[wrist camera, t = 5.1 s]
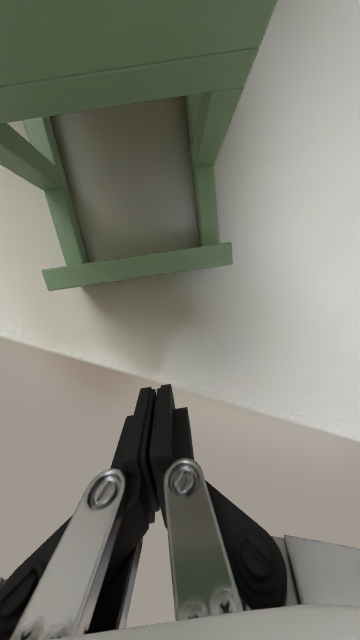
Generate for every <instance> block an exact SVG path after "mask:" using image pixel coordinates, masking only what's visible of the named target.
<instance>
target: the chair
mask: <svg viewBox="0 0 360 640" xmlns="http://www.w3.org/2000/svg"><path fill="white" fill-rule="evenodd" d="M276 3H277V0H0V164H1V165H2V166H4V167H6V168H7V169H9V170H11V171H12V172H14V173H15V174H17V175H19V176H20V177H22V178H24V179H25V180H27V181H29V182H30V183H32V184H34V185H35V186H37V187H39V188H40V189H42V190H44V192H45V195H46V198H47V202H48V205H49V208H50V212H51V215H52V218H53V222H54V225H55V228H56V232H57V235H58V238H59V242H60V245H61V248H62V252H63V255H64V258H65V262H66V265H67V266H64V267H58V268H51V269H44V270H42V273H43V276H44V279H45V282H46V285H47V288H48V290H49V291H52V290H59V289H66V288H73V287H80V286H87V285H93V284H100V283H107V282H114V281H121V280H128V279H134V278H141V277H148V276H155V275H162V274H169V273H175V272H182V271H189V270H196V269H203V268H209V267H216V266H223V265H230V264H232V263H233V261H232V244H231V242H228V243H221V244H219V231H218V218H217V205H216V191H215V178H214V163H215V160H216V158H217V155H218V153H219V150H220V148H221V145H222V142H223V140H224V137H225V135H226V132H227V130H228V127H229V124H230V122H231V119H232V117H233V114H234V112H235V109H236V106H237V104H238V101H239V99H240V96H241V93H242V91H243V88H244V85H245V83H246V80H247V78H248V75H249V73H250V70H251V67H252V65H253V62H254V60H255V57H256V55H257V52H258V49H259V46H260V44H261V42H262V39H263V36H264V34H265V31H266V29H267V26H268V23H269V21H270V18H271V16H272V13H273V11H274V8H275V5H276ZM179 96H186V106H187V116H188V125H189V135H190V145H191V155H192V165H193V175H194V185H195V194H196V204H197V214H198V224H199V234H200V244H201V246H200V247H194V248H187V249H180V250H173V251H166V252H160V253H153V254H146V255H139V256H132V257H126V258H119V259H112V260H105V261H98V262H92V263H88V259H87V255H86V252H85V248H84V244H83V240H82V237H81V233H80V229H79V225H78V222H77V218H76V214H75V211H74V207H73V203H72V199H71V196H70V192H69V188H68V184H67V181H66V177H65V173H64V170H63V166H62V162H61V158H60V155H59V151H58V147H57V143H56V140H55V136H54V132H53V128H52V125H51V121H50V117H49V116H53V115H60V114H67V113H73V112H80V111H86V110H93V109H100V108H106V107H113V106H119V105H126V104H133V103H139V102H146V101H152V100H159V99H166V98H172V97H179ZM20 120H23V122H24V125H25V129H26V132H27V135H28V139H29V142H30V143H29V142H28V141H27V140H26V139H24V138H23V137H22V136H21V135H20V134H19V133H18V132H16V131H15V130H14V129H13V128H12V127H11V126H10V125H8V124H7V122H14V121H20Z"/></svg>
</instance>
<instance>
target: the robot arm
mask: <svg viewBox="0 0 360 640" xmlns="http://www.w3.org/2000/svg"><path fill="white" fill-rule="evenodd" d="M160 508H161V512H162V516H163V520H164V524H165V527H166V528H167V530H168V540H169V551H170V563H171V573H172V584H173V595H174V607H175V618H176V621H172V622H166V623H159V624H152V625H145V626H138V627H132V628H125V626H126V621H127V617H128V612H129V607H130V602H131V597H132V593H133V588H134V583H135V578H136V573H137V568H138V564H139V558H140V554H141V549H142V541H143V536H144V535H145V533H146V532H147V530H148V528H149V523H154V521H155V512H156V511H159V509H160ZM0 640H360V549H357V548H354V547H349V546H344V545H338V544H332V543H327V542H321V541H315V540H310V539H305V538H299V537H293V536H288V535H284V538H279V537H273V536H270V535H269V534H268V533H267V532H266V531H265V530H264V529H263V528H262V527H261V526H259V525H258V524H257V523H256V522H255V521H253V520H252V519H251V518H250V517H249V516H247V515H246V514H245V513H244V512H243V511H241V510H240V509H239V508H238V507H237V506H235V505H234V504H233V503H232V502H231V501H229V500H228V499H227V498H226V497H225V496H223V495H222V494H221V493H220V492H219V491H218V490H216V489H215V488H214V487H213V486H212V485H210V484H209V483H208V482H207V481H206V480H205V478H204V475H203V472H202V469H201V467H200V466H199V465H198V463H197V462H195V461H194V455H193V447H192V438H191V430H190V422H189V416H188V409H187V407H186V408H179V409H175V404H174V398H173V393H172V387H171V384H167V385H161V388H159V389H157V396H156V391H155V389H152V388H151V387H147V388H141V390H140V393H139V397H138V400H137V404H136V408H135V412H134V415H132V416H127V418H126V420H125V423H124V426H123V430H122V433H121V436H120V440H119V442H118V446H117V449H116V452H115V455H114V459H113V462H112V465H111V468H110V469H108V470H106V471H103V472H101V473H100V474H99V475H97V476H96V477H95V478H94V479H93V480H92V481H91V483H90V484H89V486H88V487H87V489H86V491H85V493H84V494H83V496H82V499H81V501H80V502H79V504H78V506H77V508H76V510H75V512H74V514H73V515H72V516H71V517H70V518H69V519H68V520H67V521H66V522H65V523H64V524H63V525H62V526H61V527H60V528H59V529H58V530H57V531H56V532H55V533H54V534H53V535H52V536H50V538H48V539H47V540H46V541H45V542H44V543H43V544H42V545H41V546H40V547H39V548H38V549H37V550H36V551H35V552H34V553H33V554H32V555H31V556H30V557H29V558H28V559H27V560H25V561H24V562H23V564H21V565H20V566H19V567H18V568H17V569H16V570H15V571H14V573H13V574H12V575H11V576H10V577H9V578H8V579H6V580H4V579H3V578H2V577H1V578H0Z"/></svg>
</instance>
